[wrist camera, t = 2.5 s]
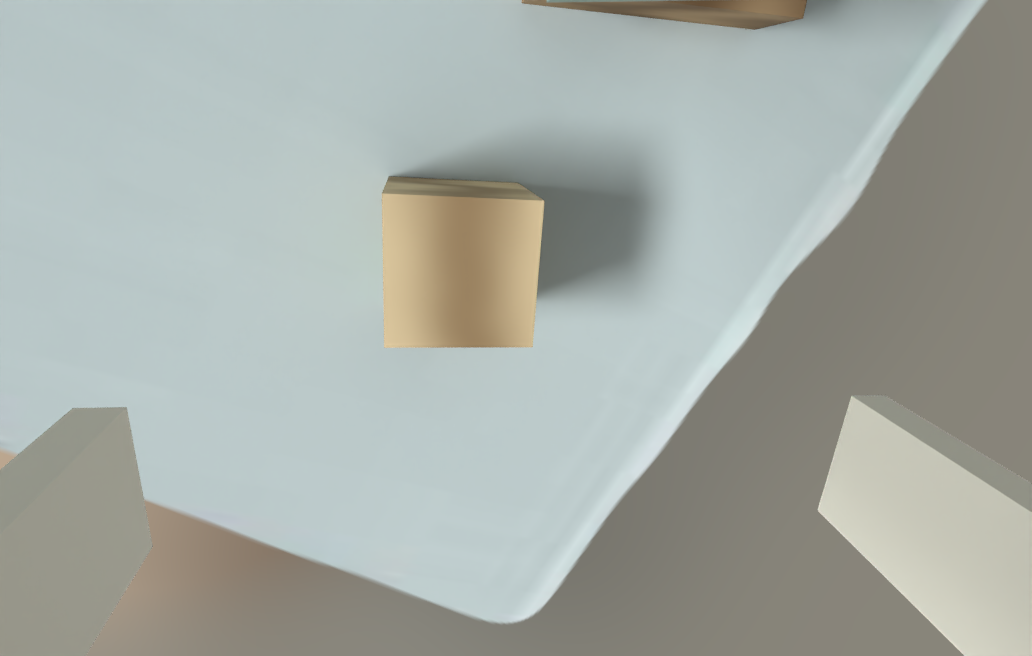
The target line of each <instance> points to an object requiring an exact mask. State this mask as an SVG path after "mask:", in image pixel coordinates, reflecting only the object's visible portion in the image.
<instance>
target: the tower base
mask: <svg viewBox="0 0 1032 656" xmlns="http://www.w3.org/2000/svg"><path fill="white" fill-rule="evenodd" d="M806 2H807V0H700V1H626V2H552V3H547V0H522V3H524V4H533V5H542V6H551V7H560V8H568V9H577V10H586V11H595V12H604V13H613V14H621V15H630V16H639V17H648V18H657V19H666V20H674V21H683V22H692V23H701V24H710V25H719V26H727V27H736V28H745V29H754V30H755V29H760V28H764V27H768V26H772V25H777V24H781V23H785V22H789V21H794V20H798V19H802V18H803V16H804V11H805V7H806Z"/></svg>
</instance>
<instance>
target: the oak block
mask: <svg viewBox="0 0 1032 656" xmlns="http://www.w3.org/2000/svg"><path fill="white" fill-rule="evenodd" d="M543 212H544V200H543V199H541V198H540V197H538V196H537V195H535V194H534V193H532V192H531V191H529V190H528V189H526V188H525V187H523V186H522V185H521V184H519V183H511V182H491V181H471V180H450V179H430V178H410V177H390V176H389V177H388V180H387V182H386V185H385V187H384V190H383V192H382V227H383V291H384V348H393V347H533V334H534V322H535V310H536V297H537V285H538V273H539V261H540V248H541V236H542V224H543Z"/></svg>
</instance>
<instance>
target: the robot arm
mask: <svg viewBox="0 0 1032 656" xmlns="http://www.w3.org/2000/svg"><path fill="white" fill-rule="evenodd" d="M818 511H819V512H820V513H821V514H822V515H823V516H824V517H825V518H826V519H827V520H828V521H829V522H830V523H831V524H832V525H833V526H834V527H835V528H836V529H837V530H838V531H839V532H840V533H841V534H842V535H843V536H844V537H845V538H846V539H847V540H848V541H849V542H850V543H851V544H852V545H853V546H854V547H855V548H856V549H858V551H859V552H860V553H861V554H862V555H863V556H864V557H865V558H866V559H867V560H868V561H869V562H870V563H871V564H872V565H873V566H874V567H876V569H878V571H879V572H881V574H883V576H885V577H886V578H887V579H888V580H889V581H890V582H891V583H892V584H893V585H894V586H895V587H896V588H897V589H898V590H899V591H900V592H901V593H902V594H903V595H904V596H905V597H906V598H907V599H908V600H909V601H910V602H911V603H912V604H913V605H914V606H915V607H916V608H917V609H918V610H919V611H920V612H921V613H922V614H923V615H924V616H925V617H926V618H927V619H928V620H929V621H930V622H931V623H932V624H933V625H934V626H935V627H936V628H937V629H938V630H939V631H940V632H941V633H942V634H943V635H944V636H945V637H946V638H947V639H948V640H949V641H950V642H951V643H952V644H953V645H954V646H955V647H956V648H957V649H958V650H959V651H960V652H961V653H962V654H963V655H964V656H1032V483H1030V482H1029V481H1027V480H1025V479H1024V478H1022V477H1020V476H1018V475H1017V474H1015V473H1014V472H1012V471H1010V470H1009V469H1007V468H1005V467H1004V466H1002V465H1000V464H999V463H997V462H995V461H993V460H992V459H990V458H988V457H987V456H985V455H984V454H982V453H980V452H979V451H977V450H975V449H973V448H972V447H970V446H968V445H967V444H965V443H964V442H962V441H960V440H959V439H957V438H955V437H954V436H952V435H950V434H948V433H947V432H945V431H943V430H942V429H940V428H938V427H937V426H935V425H934V424H932V423H930V422H928V421H927V420H925V419H924V418H922V417H920V416H919V415H917V414H915V413H914V412H912V411H910V410H909V409H907V408H905V407H903V406H902V405H900V404H898V403H897V402H895V401H894V400H892V399H890V398H889V397H887V396H885V395H881V396H851V400H850V403H849V406H848V410H847V414H846V416H845V420H844V423H843V427H842V430H841V433H840V437H839V440H838V443H837V447H836V450H835V453H834V457H833V460H832V464H831V467H830V470H829V474H828V477H827V480H826V484H825V487H824V491H823V494H822V497H821V501H820V504H819V507H818ZM152 547H153V546H152V540H151V535H150V530H149V525H148V519H147V514H146V508H145V503H144V498H143V492H142V487H141V482H140V476H139V471H138V466H137V460H136V455H135V450H134V444H133V439H132V434H131V428H130V423H129V418H128V412H127V407H114V408H72V409H71V410H70V411H69V412H68V413H67V414H65V415H64V416H63V417H62V418H61V419H60V420H58V421H57V422H56V423H55V424H54V425H52V426H51V427H50V428H49V429H48V430H47V431H45V432H44V433H43V434H42V435H41V436H40V437H38V438H37V439H36V440H35V441H34V442H32V443H31V444H30V445H29V446H28V447H27V448H25V449H24V450H23V451H22V452H21V453H19V454H18V455H17V456H16V457H15V458H14V459H12V460H11V461H10V462H9V463H8V464H7V465H5V466H4V467H3V468H2V469H1V470H0V656H86V654H87V653H88V651H89V649H90V648H91V646H92V645H93V643H94V641H95V640H96V638H97V636H98V634H99V633H100V631H101V630H102V628H103V627H104V625H105V623H106V622H107V620H108V618H109V617H110V615H111V614H112V612H113V610H114V609H115V607H116V605H117V604H118V602H119V600H120V599H121V597H122V596H123V594H124V592H125V591H126V589H127V587H128V586H129V584H130V583H131V581H132V579H133V578H134V576H135V575H136V573H137V571H138V570H139V568H140V566H141V565H142V563H143V561H144V560H145V558H146V557H147V555H148V553H149V552H150V550H151V549H152Z"/></svg>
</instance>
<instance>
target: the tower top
mask: <svg viewBox="0 0 1032 656" xmlns="http://www.w3.org/2000/svg"><path fill="white" fill-rule="evenodd" d="M626 1H700V0H547V3H552V2H626Z"/></svg>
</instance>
